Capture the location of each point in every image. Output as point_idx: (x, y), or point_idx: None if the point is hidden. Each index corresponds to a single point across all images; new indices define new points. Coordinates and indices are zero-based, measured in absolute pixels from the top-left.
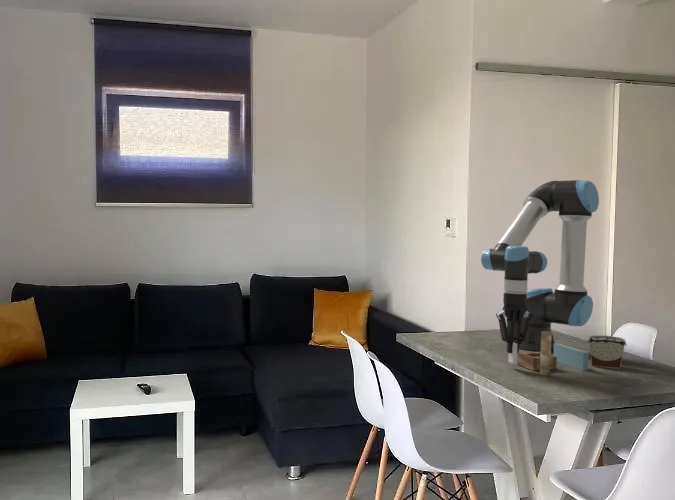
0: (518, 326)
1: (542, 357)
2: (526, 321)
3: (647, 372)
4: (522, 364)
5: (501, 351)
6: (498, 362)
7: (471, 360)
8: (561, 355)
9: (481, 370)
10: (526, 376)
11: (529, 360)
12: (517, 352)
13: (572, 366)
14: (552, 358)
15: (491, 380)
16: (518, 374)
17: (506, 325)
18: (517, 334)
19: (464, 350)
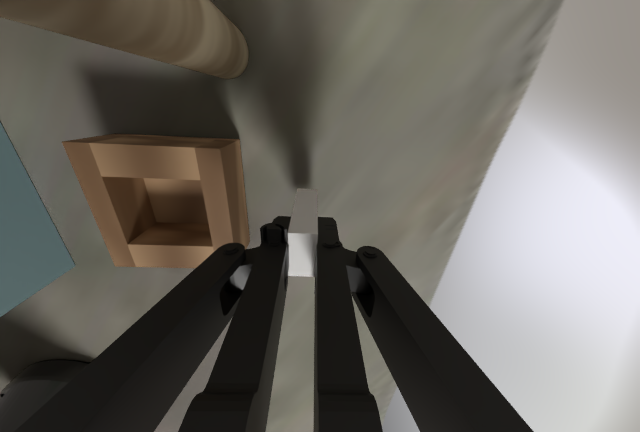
0: (255, 350)
1: (209, 8)
2: (82, 426)
3: None
4: (245, 217)
5: (208, 377)
6: (295, 284)
7: (362, 319)
8: (19, 241)
9: (434, 206)
10: (333, 51)
11: (231, 180)
12: (283, 217)
13: (15, 155)
14: (97, 142)
15: (547, 30)
16: (343, 102)
17: (436, 369)
18: (280, 280)
19: (304, 396)
